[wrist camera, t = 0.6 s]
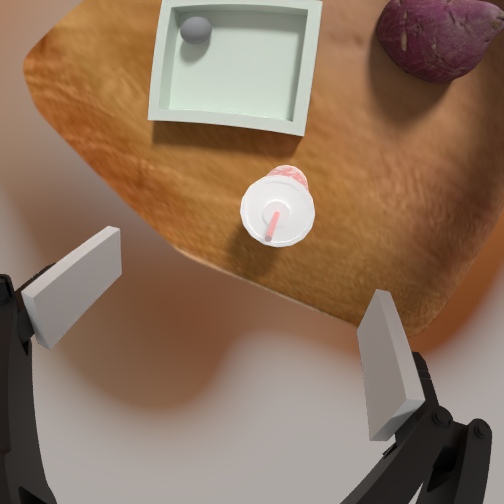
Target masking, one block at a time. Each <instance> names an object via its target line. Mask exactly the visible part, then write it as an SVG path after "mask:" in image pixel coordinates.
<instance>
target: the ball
mask: <svg viewBox="0 0 504 504" xmlns="http://www.w3.org/2000/svg"><path fill="white" fill-rule="evenodd" d="M211 33H212V26H211V24H210V22H209V21H208V20H207V19H205V18H203V17H192V18H189V19H187V20H186V21H185V22H184V23H183V24H182V26H181V29H180V34H181V37H182V39H183V40H184V41H185V42H187V43H189V44H201V43H203V42H205V41H206V40H208V38H209V37H210V36H211Z"/></svg>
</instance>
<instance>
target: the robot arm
mask: <svg viewBox="0 0 504 504" xmlns="http://www.w3.org/2000/svg"><path fill="white" fill-rule="evenodd" d="M121 274H122V269H121V248H120V229H118V228H114V227H110V226H108V227H106V228H105V229H103V230H102V231H100V232H99V233H98V234H96V235H95V236H93V237H92V238H90V239H89V240H88V241H86V242H85V243H83V244H82V245H81V246H79V247H78V248H77V249H75V250H74V251H72V252H71V253H70V254H68V255H67V256H66V257H64V258H63V259H62V260H60V261H59V262H58V263H53V264H51V265H49V266H46V267H45V268H44V269H42V270H41V271H40V272H39V274H36V275H35V276H33V278H31V279H30V280H28V281H27V282H26V283H25V284H23V285H22V286H21V287H20V288H18V289H17V290H16V291H15V292H14V288H13V285H12V281H11V278H10V277H9V275H6V274H0V504H57V502H56V499H55V497H54V495H53V493H52V491H51V489H50V488H49V486H48V484H47V481H46V478H45V474H44V469H43V465H42V460H41V454H40V448H39V442H38V435H37V428H36V420H35V410H34V399H33V385H32V384H33V383H32V343H31V339H30V338H31V337H32V335H33V334H35V336H36V339H37V342H38V344H40V345H42V346H43V347H45V348H47V349H49V350H51V349H52V348H53V346H54V345H55V344H56V343H57V342H58V341H59V340H60V338H61V337H62V336H63V335H64V334H65V333H66V332H67V331H68V330H69V328H70V327H71V326H72V325H73V324H74V323H75V322H76V321H77V320H78V319H79V318H80V316H81V315H82V314H83V313H84V312H85V311H86V310H87V309H88V308H89V307H90V306H91V305H92V304H93V303H94V301H96V300H97V299H98V298H99V296H100V295H101V294H102V293H103V292H104V291H105V290H106V289H107V288H108V287H109V286H110V285H111V284H112V283H113V282H114V281H115V280H116V279H117V278H118V277H119V276H120V275H121ZM357 338H358V344H359V350H360V356H361V364H362V372H363V379H364V387H365V395H366V405H367V415H368V424H369V438H370V441H387V440H389V439H390V438H391V437H392V436H393V434H395V439H396V442H395V443H394V444H393V445H392V446H391V447H390V448H388V449H387V450H386V451H385V452H384V453H383V455H384V456H383V457H382V458H381V460H380V461H379V462H378V463H377V464H376V466H375V467H374V468H373V469H372V470H371V471H370V473H369V474H368V475H367V476H366V477H365V478H364V479H363V480H362V482H361V483H360V484H359V485H358V486H357V487H356V488H355V489H354V490H353V491H352V492H351V493H350V494H349V496H347V497H346V498H345V499H344V500H343V501H342V502H341V503H340V504H408V503H409V502H410V501H411V499H412V498H413V496H414V495H415V493H416V492H417V490H418V489H419V487H420V486H421V484H422V483H423V485H422V488H421V490H420V493H419V496H418V499H417V501H416V504H483V500H484V495H485V489H486V484H487V478H488V471H489V464H490V455H491V444H492V431H491V429H490V426H489V425H488V424H487V423H486V422H485V421H484V420H482V419H473V420H472V421H471V422H470V423H469V424H468V425H464V424H461V423H458V422H455V421H453V417H452V415H451V414H450V412H449V411H448V410H447V409H445V408H444V407H442V406H439V403H438V400H437V396H436V393H435V390H434V387H433V384H432V380H430V379H431V377H430V374H429V372H428V368H427V365H426V362H425V360H424V359H423V358H422V356H421V355H420V354H419V353H418V352H412V351H411V350H410V347H409V344H408V341H407V338H406V335H405V332H404V329H403V326H402V323H401V320H400V318H399V315H398V312H397V309H396V307H395V304H394V301H393V299H392V296H391V294H390V292H388V291H384V290H379V289H376V290H375V293H374V295H373V297H372V299H371V302H370V304H369V306H368V308H367V310H366V313H365V315H364V317H363V319H362V321H361V323H360V325H359V327H358V330H357ZM423 481H424V482H423Z"/></svg>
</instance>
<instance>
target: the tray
mask: <svg viewBox="0 0 504 504" xmlns="http://www.w3.org/2000/svg"><path fill="white" fill-rule="evenodd" d="M321 14H322V1H317V0H162V5H161V11H160V17H159V23H158V29H157V36H156V43H155V50H154V58H153V67H152V76H151V86H150V98H149V111H148V120H163V121H182V122H197V123H209V124H219V125H229V126H238V127H246V128H254V129H261V130H268V131H275V132H281V133H287V134H293V135H299V136H304V134H305V129H306V122H307V116H308V109H309V103H310V96H311V89H312V82H313V75H314V68H315V61H316V54H317V46H318V38H319V31H320V22H321ZM192 17H203V18H205V19H207V20H208V21H209V22H210V24H211V26H212V33H211V36H210V37H209V38H208V40H206V41H205V42H203V43H201V44H189V43H187V42H185V41H184V40H183V39H182V37H181V34H180V29H181V26H182V24H183V23H184V22H185V21H186V20H187V19H189V18H192Z"/></svg>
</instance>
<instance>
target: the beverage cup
mask: <svg viewBox="0 0 504 504" xmlns="http://www.w3.org/2000/svg"><path fill="white" fill-rule="evenodd" d="M240 214H241V217H242V221H243V225H244V227H245V228H246V229H247V231H248V232H249V233H250V235H251V236H252V237H253V238H255V239H257V240H258V241H260V242H261V243H263V244H265V245H270V246H274V247H283V246H291V245H293V244H295V243H297V242H298V241H300V240H302V239H303V238H304V237H305V236H306V235H307V233H308V232H309V231H310V230H311V228H312V225H313V221H314V217H315V210H314V205H313V199H312V197H311V195H310V194H309V190H308V185H307V179H306V177H305V176H304V174H303V173H302V171H300V170H299V169H297V168H296V167H293V166H289V165H284V166H278V167H277V168H275V169H274V170H272V171H271V172H270V173H269V174H267V175H266V176H265V177H263V178H261V179H260V180H258V181H257V182H255V183H254V184H252V185H251V186H250V187H249V189H248V190H247V192H246V193H245V195H244V196H243V198H242V203H241V210H240Z"/></svg>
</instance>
